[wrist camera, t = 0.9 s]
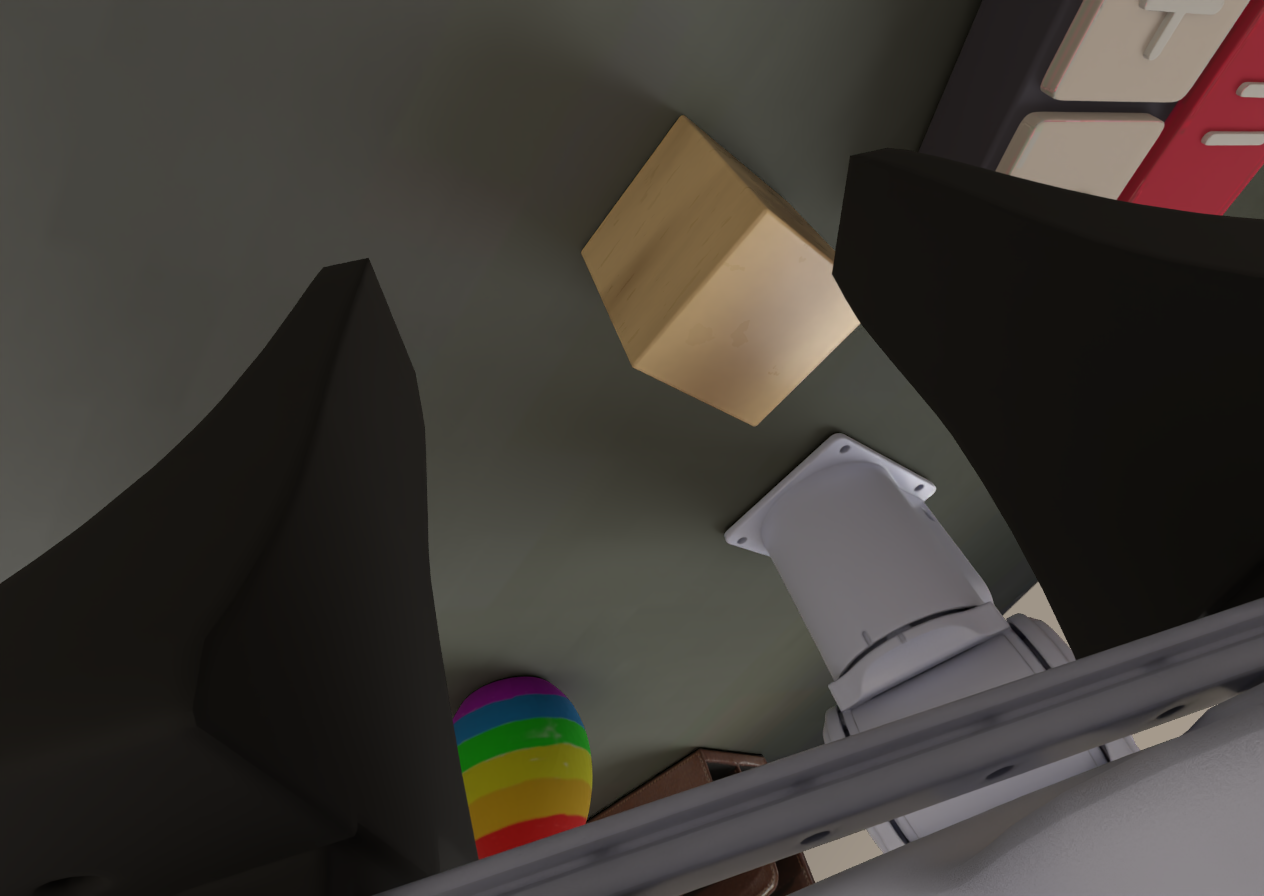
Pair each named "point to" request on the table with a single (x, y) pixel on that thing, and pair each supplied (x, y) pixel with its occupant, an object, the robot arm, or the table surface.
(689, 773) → the letter holder
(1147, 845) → the robot arm
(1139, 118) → the calculator
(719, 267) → the birch block
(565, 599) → the table surface
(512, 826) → the decorative egg
